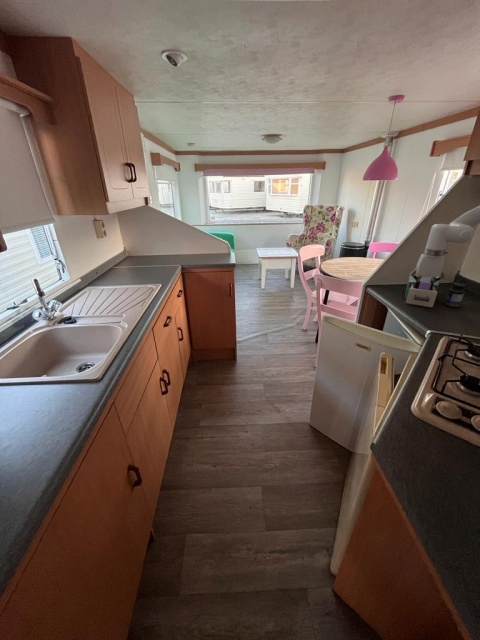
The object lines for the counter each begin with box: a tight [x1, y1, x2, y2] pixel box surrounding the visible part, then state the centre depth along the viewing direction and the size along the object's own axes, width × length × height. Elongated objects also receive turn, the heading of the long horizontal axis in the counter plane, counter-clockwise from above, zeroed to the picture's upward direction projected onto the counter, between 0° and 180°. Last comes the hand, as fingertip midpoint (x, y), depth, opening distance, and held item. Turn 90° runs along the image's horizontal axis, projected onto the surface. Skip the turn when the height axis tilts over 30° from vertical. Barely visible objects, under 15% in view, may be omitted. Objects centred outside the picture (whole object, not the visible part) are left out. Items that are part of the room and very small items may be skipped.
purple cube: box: [418, 280, 431, 290], centre depth 130 cm, size 4×4×4 cm
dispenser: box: [404, 273, 440, 300], centre depth 141 cm, size 15×13×10 cm
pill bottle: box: [444, 282, 466, 308], centre depth 129 cm, size 6×6×11 cm
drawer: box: [405, 283, 439, 308], centre depth 132 cm, size 18×11×8 cm, turn 149°
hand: (422, 289), depth 131 cm, fingers closed on purple cube, 4 cm apart
